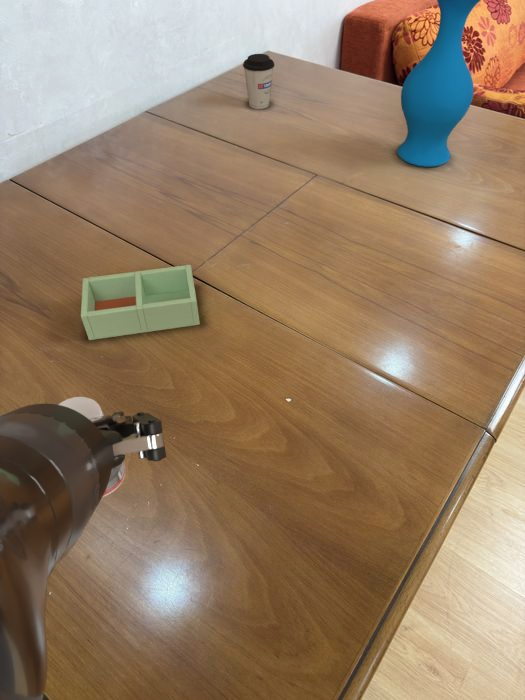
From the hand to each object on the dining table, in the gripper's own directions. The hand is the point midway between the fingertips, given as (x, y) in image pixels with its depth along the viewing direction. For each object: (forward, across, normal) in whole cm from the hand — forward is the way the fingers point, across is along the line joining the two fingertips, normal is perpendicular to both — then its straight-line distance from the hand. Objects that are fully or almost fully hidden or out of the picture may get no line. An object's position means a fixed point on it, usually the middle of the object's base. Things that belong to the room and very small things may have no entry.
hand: (87, 429), depth 44 cm
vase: (+57, -59, -35) cm, 89 cm away
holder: (+32, -3, -11) cm, 34 cm away
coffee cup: (+78, -32, -57) cm, 102 cm away
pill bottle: (+2, 0, +4) cm, 5 cm away
